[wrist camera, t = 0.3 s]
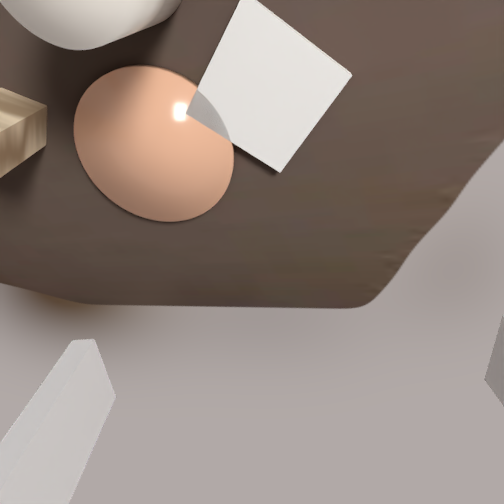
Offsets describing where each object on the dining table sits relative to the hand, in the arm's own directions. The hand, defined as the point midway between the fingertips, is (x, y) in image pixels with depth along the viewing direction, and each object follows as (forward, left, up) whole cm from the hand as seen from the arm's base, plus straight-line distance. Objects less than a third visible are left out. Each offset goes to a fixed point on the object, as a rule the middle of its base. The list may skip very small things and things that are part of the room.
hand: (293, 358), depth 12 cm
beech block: (+17, -18, -25) cm, 35 cm away
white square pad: (0, -3, -25) cm, 25 cm away
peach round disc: (+11, -7, -25) cm, 28 cm away
